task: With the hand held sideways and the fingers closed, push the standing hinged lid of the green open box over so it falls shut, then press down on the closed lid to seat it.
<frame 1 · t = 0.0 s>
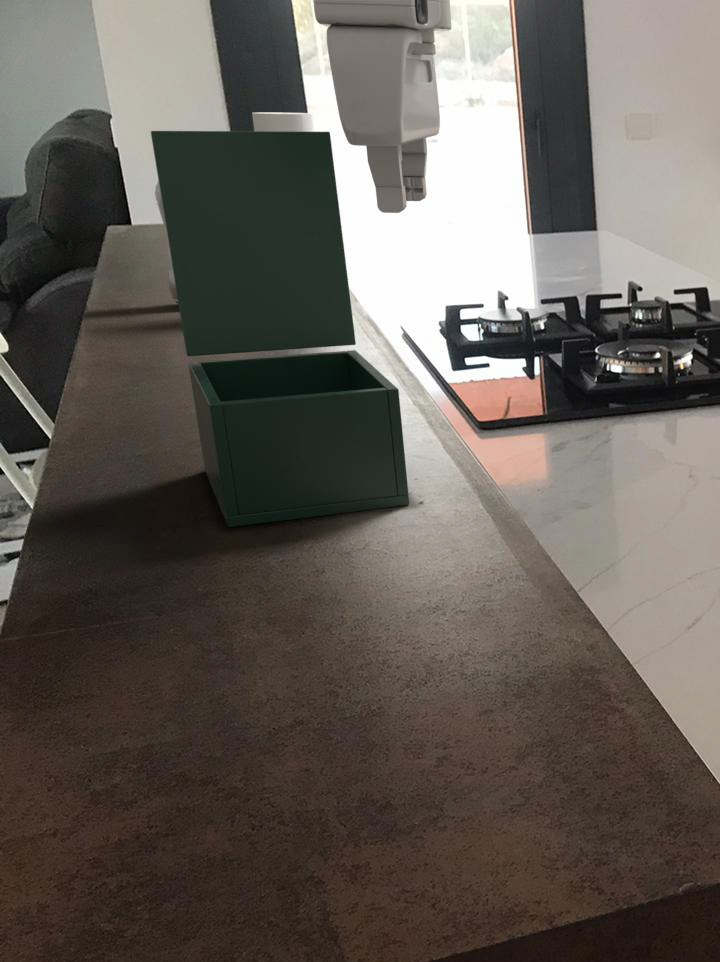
hand: (403, 206, 96), 21 cm above the counter, tool pointing down, fingers open, 8 cm apart
cylindrical container: (306, 314, 171), on the counter
lid: (258, 243, 100), point 17 cm above the counter, hinge at 95.0°
green open box: (303, 487, 99), on the counter
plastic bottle: (198, 307, 174), on the counter
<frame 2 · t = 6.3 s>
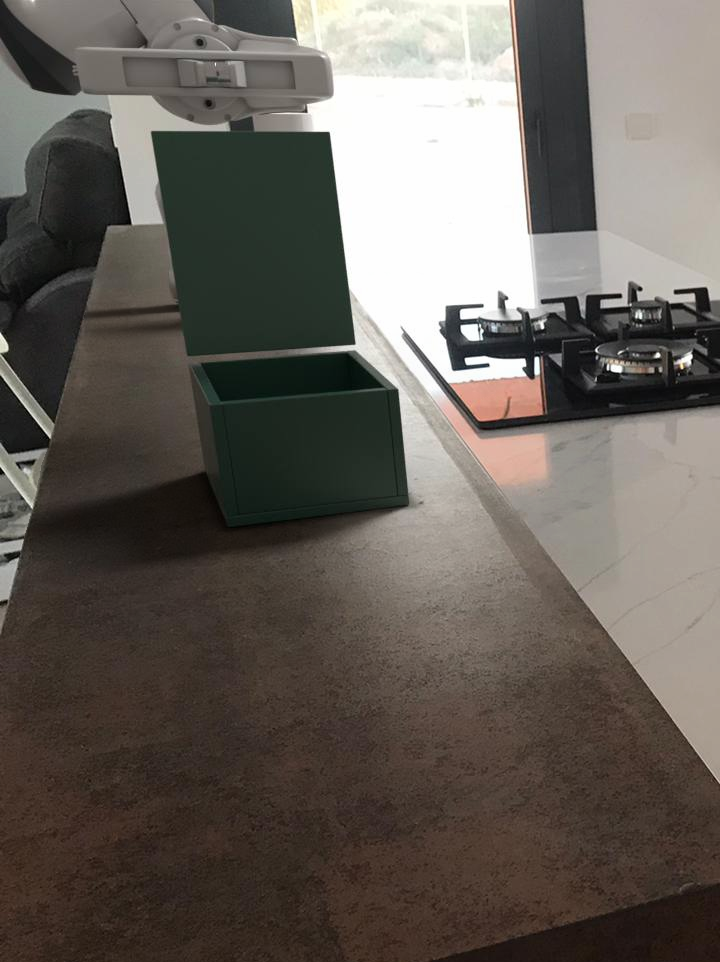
hand: (217, 73, 105), 30 cm above the counter, tool horizontal, fingers closed
nothing on the counter moved.
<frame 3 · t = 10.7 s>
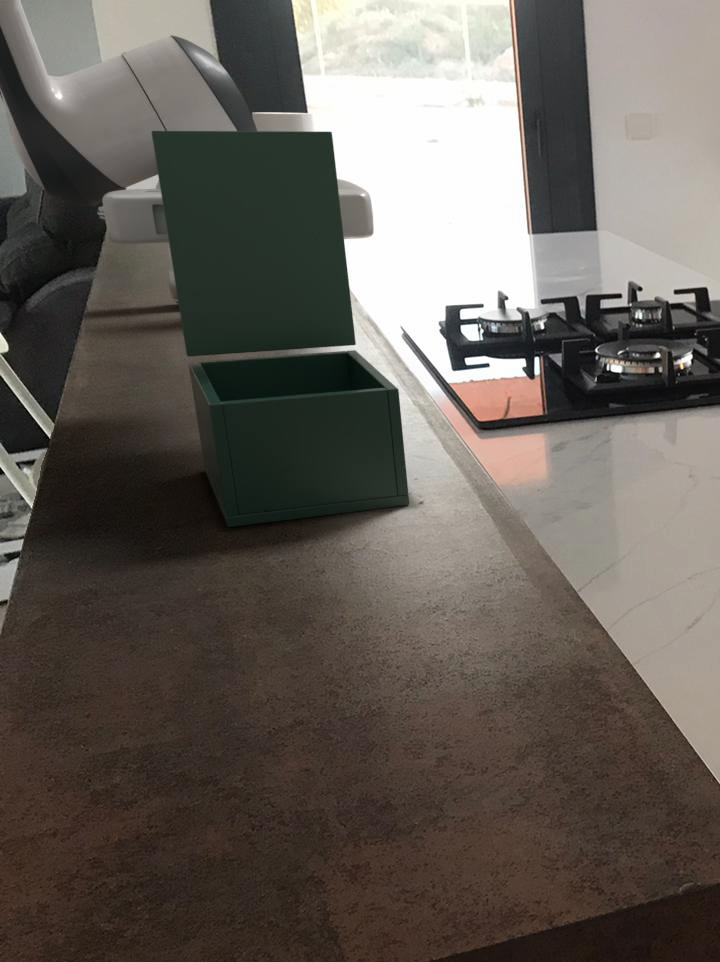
hand: (254, 223, 99), 19 cm above the counter, tool horizontal, fingers closed, pressing on lid
lid: (259, 243, 99), point 17 cm above the counter, hinge at 91.9°, touching gripper
everything else where it was.
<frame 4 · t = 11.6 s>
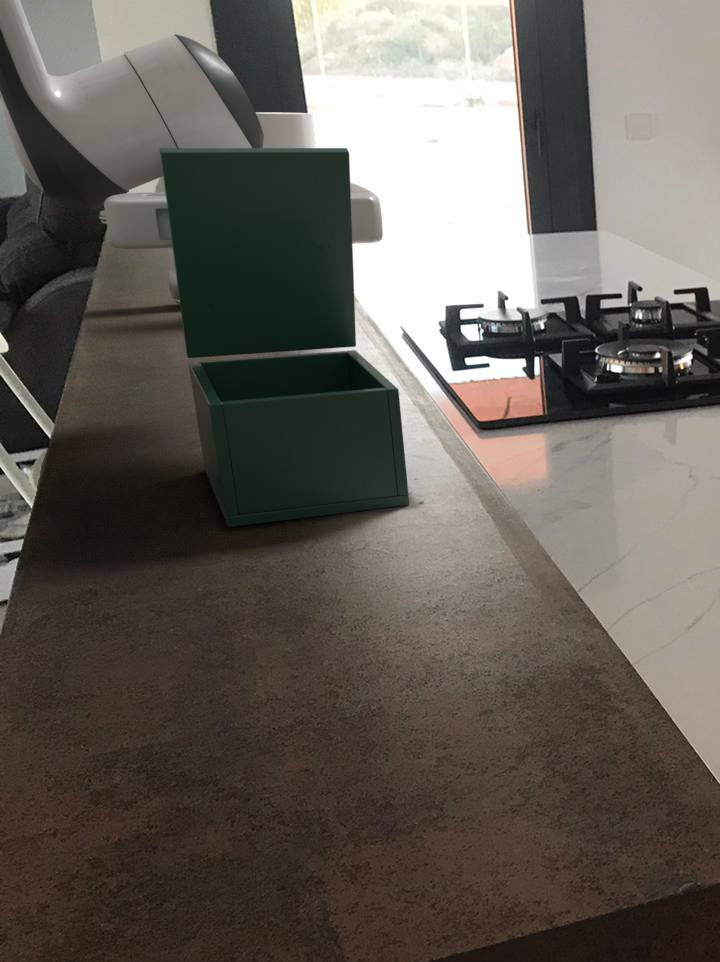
hand: (260, 228, 96), 19 cm above the counter, tool horizontal, fingers closed, pressing on lid
lid: (265, 255, 97), point 17 cm above the counter, hinge at 69.5°, touching gripper
everything else where it was.
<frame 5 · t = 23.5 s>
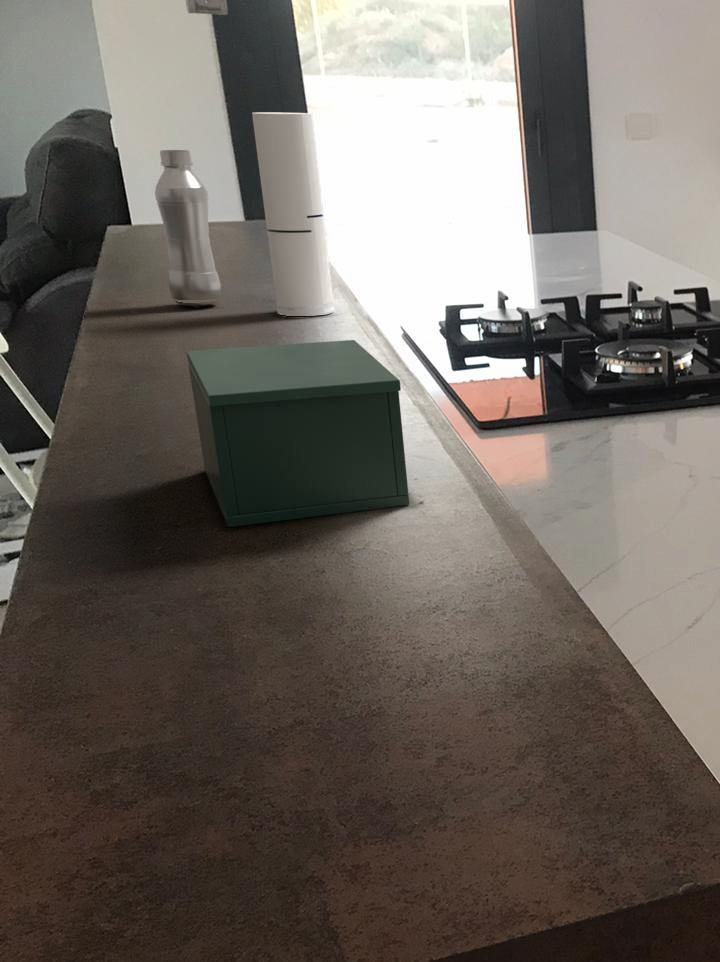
hand: (207, 14, 104), 34 cm above the counter, tool pointing down, fingers closed
lid: (289, 370, 95), point 9 cm above the counter, hinge at -0.2°
everything else where it was.
at the end: lid at +0° (first picture: +95°) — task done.
